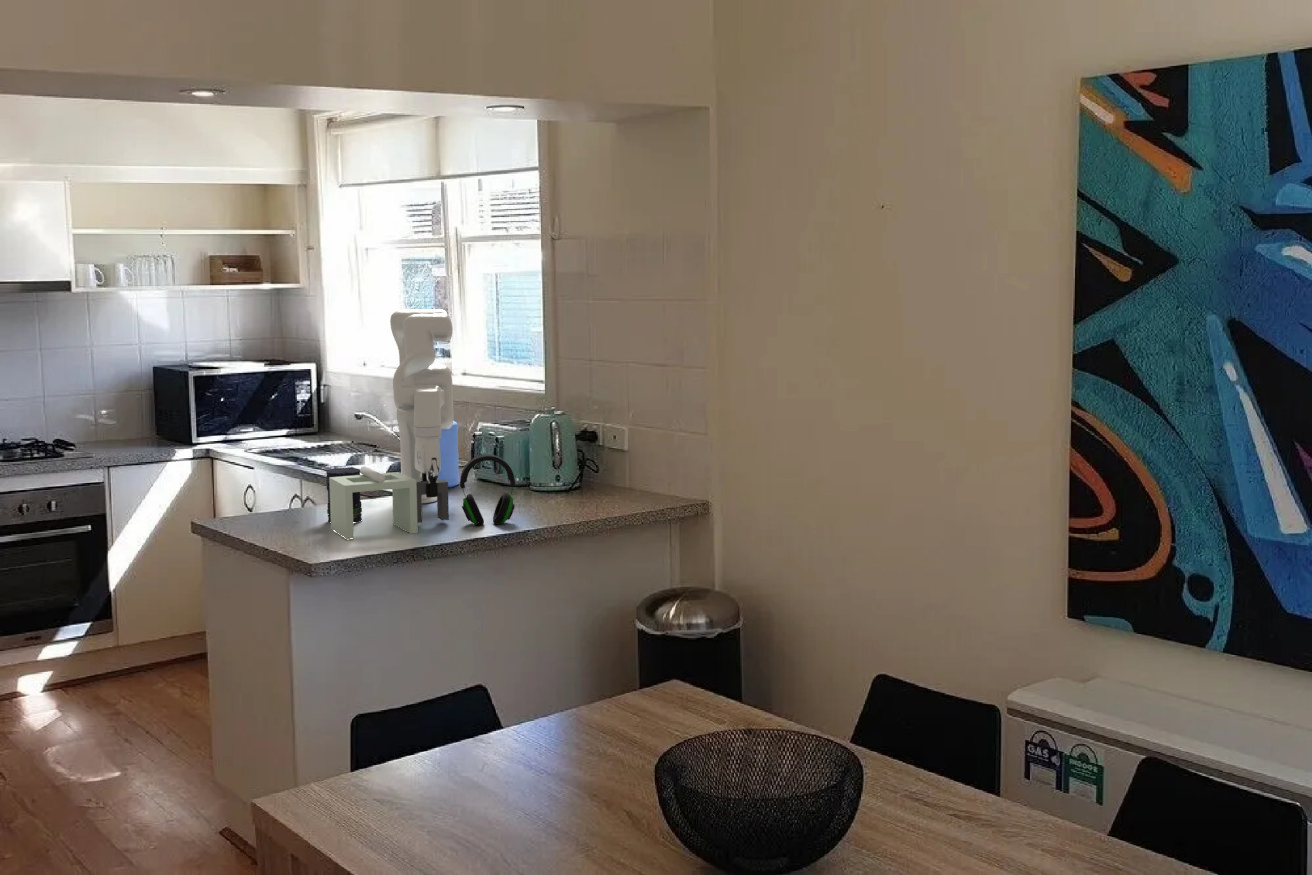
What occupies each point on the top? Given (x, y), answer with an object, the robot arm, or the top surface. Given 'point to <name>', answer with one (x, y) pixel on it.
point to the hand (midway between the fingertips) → (429, 494)
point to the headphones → (505, 501)
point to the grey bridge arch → (441, 499)
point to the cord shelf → (372, 481)
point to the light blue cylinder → (449, 455)
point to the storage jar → (356, 495)
